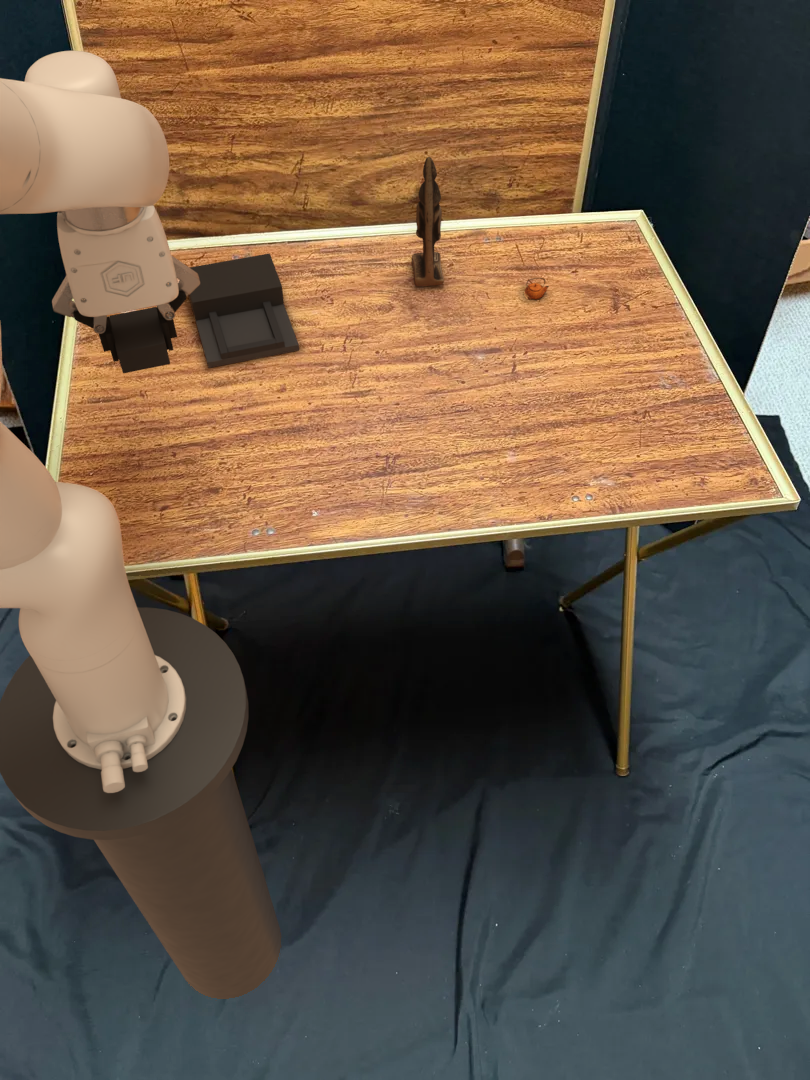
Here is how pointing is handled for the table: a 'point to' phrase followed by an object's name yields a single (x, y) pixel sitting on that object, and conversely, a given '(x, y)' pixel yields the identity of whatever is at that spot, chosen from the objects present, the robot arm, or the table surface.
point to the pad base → (241, 311)
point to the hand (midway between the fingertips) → (141, 346)
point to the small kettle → (535, 290)
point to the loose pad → (139, 340)
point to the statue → (428, 229)
